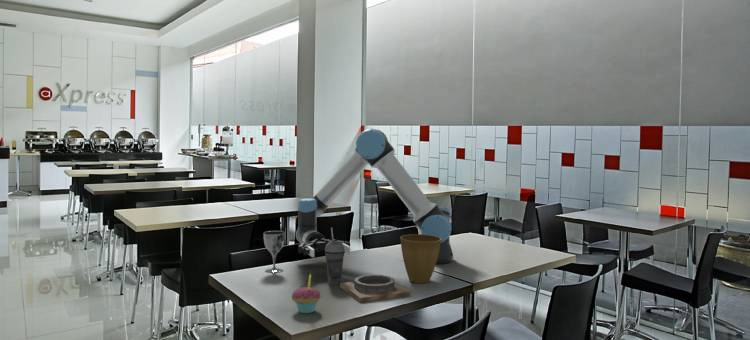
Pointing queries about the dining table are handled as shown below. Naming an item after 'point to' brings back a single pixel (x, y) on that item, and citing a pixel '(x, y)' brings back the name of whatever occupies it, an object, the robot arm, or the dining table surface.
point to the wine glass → (274, 246)
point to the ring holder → (374, 288)
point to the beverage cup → (334, 260)
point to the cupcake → (306, 298)
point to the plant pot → (420, 256)
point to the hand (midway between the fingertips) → (331, 252)
